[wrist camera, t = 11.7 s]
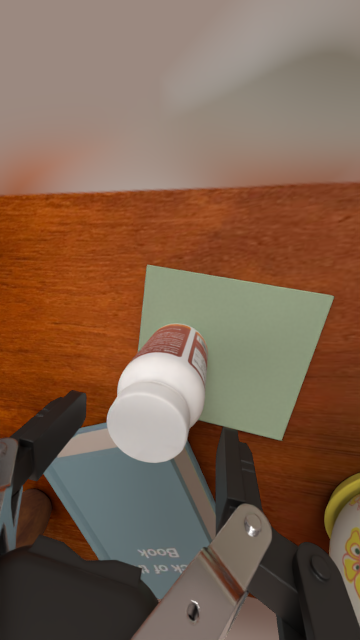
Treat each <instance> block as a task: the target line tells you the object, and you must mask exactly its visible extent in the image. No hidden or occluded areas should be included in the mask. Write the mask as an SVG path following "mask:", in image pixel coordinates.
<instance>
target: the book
mask: <svg viewBox="0 0 360 640" xmlns="http://www.w3.org/2000/svg"><path fill="white" fill-rule="evenodd" d="M43 474H44V475H45V477H46V478H47V480H48V481H49V483H50V484H51V486H52V487H53V489H54V491H55V492H56V494H57V495H58V497H59V498H60V500H61V501H62V503H63V504H64V506H65V507H66V509H67V511H68V512H69V514H70V515H71V517H72V518H73V520H74V521H75V523H76V524H77V526H78V528H79V529H80V531H81V532H82V534H83V535H84V537H85V538H86V540H87V541H88V543H89V544H90V546H91V548H92V549H93V551H94V552H95V554H96V555H97V557H98V558H99V560H119V561H122V562H125V563H128V564H131V565H134V566H137V567H140V568H142V574H141V580H142V581H143V582H144V583H145V584H146V585H147V586H148V587H149V588H150V589H151V590H152V592H153V593H154V595H155V596H156V598H157V599H162V598H163V597H164V596H165V594H166V593H167V592H168V590H169V589H170V588H171V587H172V585H173V584H174V583H175V581H176V580H177V579H178V578H179V576H180V575H181V574H182V572H183V571H184V570H185V569H186V567H187V566H188V565H189V563H190V562H191V561H192V560H193V558H194V557H195V556H196V554H197V553H198V552H199V551H200V550H201V549H202V548H203V547H208V546H209V544H210V543H211V542H212V540H213V539H214V538H215V536H216V503H215V501H214V499H213V496H212V494H211V492H210V490H209V487H208V485H207V483H206V481H205V478H204V476H203V474H202V472H201V469H200V467H199V465H198V462H197V460H196V458H195V456H194V453H193V451H192V449H191V447H190V444H189V442H188V440H187V442H186V444H185V446H184V448H183V450H182V451H181V452H180V453H179V454H178V455H177V456H176V457H174V458H172V459H170V460H168V461H165V462H159V463H149V462H143V461H139V460H137V459H134V458H132V457H130V456H128V455H127V454H125V453H124V452H123V451H121V450H120V449H119V448H118V446H117V445H116V444H115V443H114V441H113V440H112V438H111V436H110V434H109V432H108V428H107V423H102V424H97V425H93V426H88V427H83V428H79V430H78V431H77V432H76V433H75V435H74V436H73V437H72V438H71V440H70V441H69V442H68V443H67V444H66V446H65V447H64V448H63V449H62V451H61V452H60V453H59V454H58V456H57V457H56V458H55V459H54V461H53V462H52V463H51V464H50V466H49V467H48V468H47V469H46V471H45V472H44V473H43Z"/></svg>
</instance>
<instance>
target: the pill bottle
mask: <svg viewBox="0 0 360 640" xmlns="http://www.w3.org/2000/svg"><path fill="white" fill-rule="evenodd" d="M207 362H208V348H207V344H206V342H205V340H204V338H203V337H202V335H201V334H200V333H199V332H198V331H197V330H195V329H194V328H192V327H190V326H188V325H185V324H178V323H176V324H168V325H165V326H163V327H161V328H160V329H158V330H157V331H156V332H155V333H154V334H153V335H152V336H151V338H150V339H149V340H148V341H147V342H146V344H145V345H144V346H143V347H142V348H141V350H140V351H139V352H138V353H137V354H136V356H135V357H134V358H133V359H132V361H131V362H130V363H129V364H128V365H127V366H126V368H125V370H124V371H123V373H122V375H121V377H120V379H119V383H118V391H117V394H118V396H117V398H116V400H115V401H114V403H113V404H112V406H111V407H110V409H109V412H108V415H107V428H108V432H109V434H110V436H111V438H112V440H113V441H114V443H115V444H116V445H117V446H118V448H119V449H120V450H121V451H123V452H124V453H125V454H127V455H128V456H130V457H132V458H134V459H137V460H139V461H143V462H149V463H159V462H165V461H168V460H170V459H172V458H174V457H176V456H177V455H178V454H179V453H180V452H181V451H182V450H183V448H184V446H185V444H186V442H187V438H188V433H189V428H191V427H192V426H193V425H194V424H195V423H196V421H197V420H198V419H199V417H200V415H201V413H202V411H203V407H204V401H205V388H206V374H207Z"/></svg>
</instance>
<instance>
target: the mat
mask: <svg viewBox="0 0 360 640" xmlns="http://www.w3.org/2000/svg"><path fill="white" fill-rule="evenodd" d="M333 298H334V296H331V295H326V294H320V293H314V292H308V291H302V290H296V289H290V288H284V287H278V286H272V285H266V284H260V283H254V282H248V281H242V280H236V279H230V278H224V277H218V276H212V275H206V274H200V273H194V272H188V271H182V270H176V269H170V268H164V267H158V266H152V265H147V270H146V279H145V289H144V299H143V308H142V318H141V328H140V337H139V347H138V352H139V351H140V350H141V348H142V347H143V346H144V345H145V344H146V342H147V341H148V340H149V339H150V338H151V336H152V335H153V334H154V333H155V332H156V331H157V330H158V329H160V328H161V327H163V326H165V325H168V324H176V323H178V324H185V325H188V326H190V327H192V328H194V329H195V330H197V331H198V332H199V333H200V334H201V335H202V337H203V338H204V340H205V342H206V344H207V348H208V362H207V374H206V388H205V401H204V407H203V411H202V413H201V415H200V417H199V419H198V420H200V421H204V422H208V423H212V424H216V425H220V426H224V427H229V428H233V429H237V430H241V431H245V432H249V433H253V434H257V435H261V436H265V437H269V438H273V439H277V440H282V438H283V435H284V432H285V429H286V427H287V424H288V421H289V419H290V416H291V413H292V410H293V408H294V405H295V402H296V399H297V397H298V394H299V391H300V388H301V386H302V383H303V380H304V378H305V375H306V372H307V369H308V367H309V364H310V361H311V358H312V356H313V353H314V350H315V348H316V345H317V342H318V339H319V337H320V334H321V331H322V328H323V326H324V323H325V320H326V317H327V315H328V312H329V309H330V307H331V304H332V301H333Z"/></svg>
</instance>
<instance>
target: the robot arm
mask: <svg viewBox="0 0 360 640" xmlns="http://www.w3.org/2000/svg"><path fill="white" fill-rule="evenodd" d="M85 417H86V394H85V393H83V392H78V391H74V390H72V391H70V392H69V393H68V394H67V395H66V396H65V397H64V398H62V397H60V398H57V399H55V400H53V401H51V402H50V403H49V404H48V405H46V406H45V407H44V408H43V410H41V411H40V412H38V413H37V414H36V416H34V417H33V418H31V419H30V420H29V421H28V422H27V423H26V424H24V425H23V426H22V427H21V428H20V429H19V430H18V431H16V432H15V433H14V434H13V435H12V436H11V437H9V438H1V439H0V640H225V639H226V636H227V635H228V633H229V630H230V629H231V627H232V625H233V623H234V621H235V619H236V617H237V615H238V613H239V611H240V609H241V607H242V605H243V603H244V601H245V599H246V597H247V595H248V593H249V592H250V593H251V594H252V595H253V596H255V597H256V598H257V599H258V600H260V601H261V602H262V603H263V604H264V605H266V606H267V607H268V608H269V609H271V610H272V611H273V612H274V613H276V617H277V625H278V633H279V640H360V626H359V623H358V620H357V617H356V615H355V612H354V609H353V606H352V603H351V600H350V598H349V595H348V592H347V589H346V586H345V584H344V581H343V578H342V575H341V573H340V571H339V569H338V567H337V566H336V564H335V562H334V561H333V560H332V558H331V557H330V556H329V555H328V554H327V553H326V552H325V551H324V550H323V549H321V548H320V547H319V546H317V545H315V544H313V543H310V542H304V543H301V544H300V545H299V547H298V546H297V545H295V544H294V543H292V542H291V541H289V540H288V539H286V538H285V537H283V536H282V535H280V534H279V533H278V532H277V531H276V530H274V528H273V527H272V526H271V525H270V523H269V521H268V519H267V517H266V516H265V515H264V513H263V510H262V506H261V500H260V495H259V489H258V484H257V478H256V474H255V467H254V462H253V456H252V452H251V451H250V449H249V447H248V446H247V444H246V443H242V442H239V439H238V432H237V430H234V429H230V428H226V427H223V429H222V432H221V436H220V440H219V444H218V448H217V454H216V536H215V538H214V539H213V540H212V542H211V543H210V544H209V546H208V547H203V548H202V549H201V550H200V551H199V552H198V553H197V554H196V556H195V557H194V558H193V560H192V561H191V562H190V563H189V565H188V566H187V567H186V569H185V570H184V571H183V572H182V574H181V575H180V576H179V578H178V579H177V580H176V581H175V583H174V584H173V585H172V587H171V588H170V589H169V590H168V592H167V593H166V594H165V596H164V597H163V598H162V599H161V601H160V602H158V600H157V598H156V596H155V595H154V593H153V592H152V590H151V589H150V588H149V587H148V586H147V585H146V584H145V583H144V582H143V581H142V580H141V574H142V568H140V567H137V566H134V565H131V564H128V563H125V562H122V561H119V560H96V561H86V560H83V559H82V558H81V557H80V556H79V555H77V554H76V553H75V552H74V551H73V550H72V549H71V548H69V547H68V546H67V545H66V544H65V543H64V542H61V541H58V540H55V539H52V538H49V537H46V536H43V535H40V534H39V535H38V537H37V539H36V540H35V542H34V543H33V545H26V546H22V547H19V548H16V531H17V524H18V517H19V510H20V503H21V496H22V490H23V486H22V485H23V484H24V483H25V482H26V481H27V479H31V480H34V481H38V479H39V478H40V477H41V476H42V474H43V473H44V472H45V471H46V469H47V468H48V467H49V466H50V464H51V463H52V462H53V461H54V459H55V458H56V457H57V456H58V454H59V453H60V452H61V451H62V449H63V448H64V447H65V446H66V444H67V443H68V442H69V441H70V440H71V438H72V437H73V436H74V435H75V433H76V432H77V431H78V430H79V428H80V427H81V426H82V424H83V422H84V420H85Z"/></svg>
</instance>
